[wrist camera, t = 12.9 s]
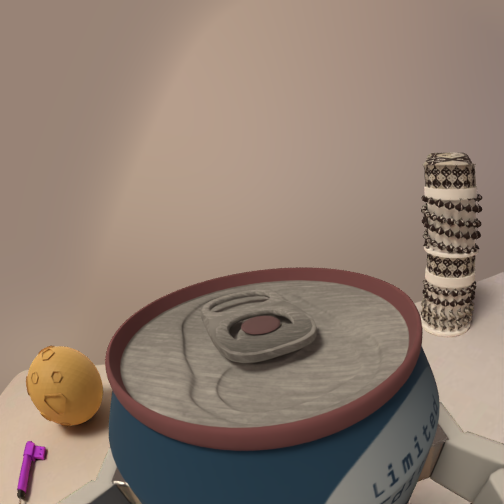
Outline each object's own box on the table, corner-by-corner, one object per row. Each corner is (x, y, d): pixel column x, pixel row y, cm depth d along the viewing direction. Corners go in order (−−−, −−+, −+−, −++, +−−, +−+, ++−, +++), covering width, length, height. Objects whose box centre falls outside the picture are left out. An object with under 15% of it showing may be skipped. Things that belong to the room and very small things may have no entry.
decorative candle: (476, 338, 35) (487, 152, 29) (417, 338, 39) (418, 153, 33) (468, 309, 43) (472, 153, 36) (418, 309, 47) (415, 153, 41)
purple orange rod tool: (28, 445, 25) (12, 550, 10) (25, 438, 25) (7, 545, 10) (47, 447, 26) (37, 556, 11) (44, 441, 25) (32, 551, 11)
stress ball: (84, 386, 38) (59, 326, 36) (129, 406, 34) (101, 339, 31) (36, 422, 29) (2, 359, 27) (76, 453, 25) (34, 383, 23)
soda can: (403, 565, 6) (531, 320, 3) (241, 632, 4) (35, 523, 1) (328, 475, 13) (323, 245, 10) (196, 519, 11) (96, 295, 8)
